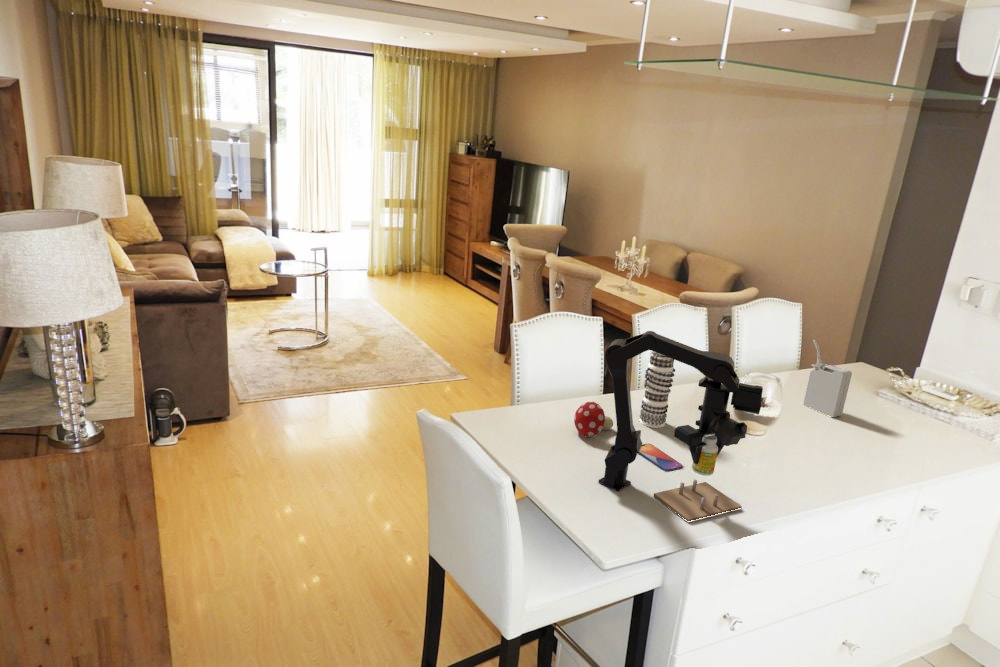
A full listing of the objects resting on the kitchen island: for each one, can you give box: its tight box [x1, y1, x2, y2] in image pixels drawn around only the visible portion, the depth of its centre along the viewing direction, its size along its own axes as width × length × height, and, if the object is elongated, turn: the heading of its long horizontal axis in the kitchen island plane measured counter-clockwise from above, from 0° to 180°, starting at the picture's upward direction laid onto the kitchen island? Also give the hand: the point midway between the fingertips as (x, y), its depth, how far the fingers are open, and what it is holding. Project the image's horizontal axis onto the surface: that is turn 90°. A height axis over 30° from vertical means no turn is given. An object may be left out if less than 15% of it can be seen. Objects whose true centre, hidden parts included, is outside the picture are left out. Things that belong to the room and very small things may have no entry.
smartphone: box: [638, 443, 684, 472], centre depth 195 cm, size 7×15×1 cm, turn 29°
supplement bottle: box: [691, 435, 718, 477], centre depth 167 cm, size 5×5×10 cm
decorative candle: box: [638, 351, 676, 429], centre depth 216 cm, size 9×9×25 cm
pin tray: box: [653, 479, 743, 521], centre depth 171 cm, size 18×13×4 cm
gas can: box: [803, 338, 853, 418], centre depth 240 cm, size 15×5×25 cm, turn 26°
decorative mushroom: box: [573, 401, 614, 438], centre depth 207 cm, size 11×11×15 cm
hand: (704, 462), depth 168 cm, fingers closed on supplement bottle, 5 cm apart
